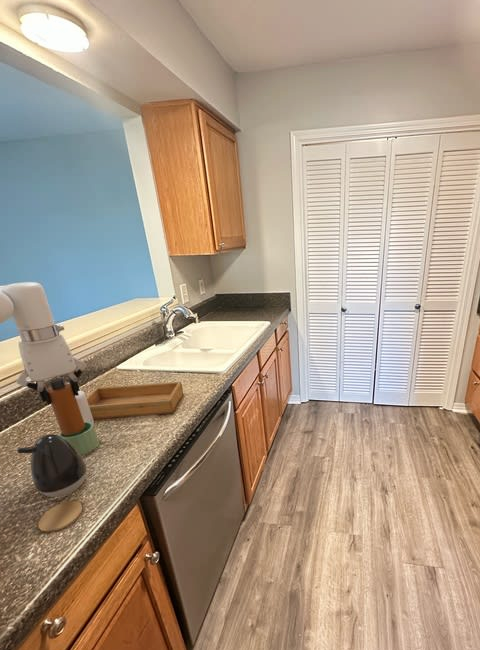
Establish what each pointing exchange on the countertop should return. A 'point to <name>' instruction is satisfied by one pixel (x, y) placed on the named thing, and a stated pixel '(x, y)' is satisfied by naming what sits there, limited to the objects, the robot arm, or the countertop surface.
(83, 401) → the pill bottle
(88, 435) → the cup
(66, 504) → the coaster
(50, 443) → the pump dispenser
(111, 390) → the tray
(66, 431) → the bottle
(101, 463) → the countertop surface
